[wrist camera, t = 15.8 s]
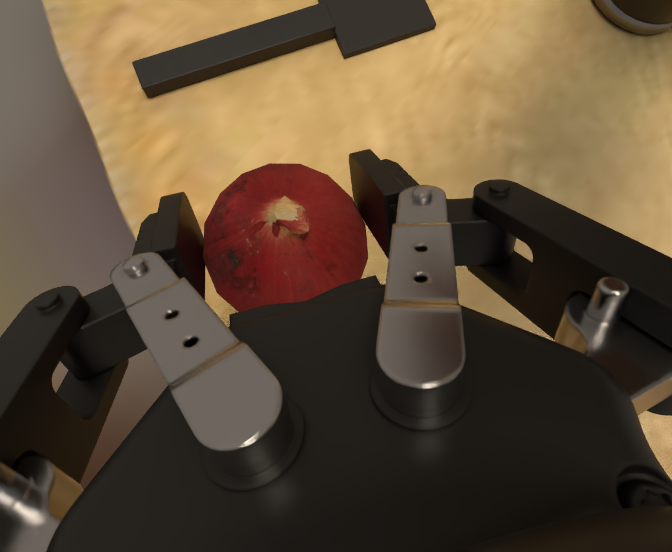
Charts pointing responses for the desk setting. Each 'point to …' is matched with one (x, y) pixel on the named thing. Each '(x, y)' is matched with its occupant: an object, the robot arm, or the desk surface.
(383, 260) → the desk surface
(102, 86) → the desk surface
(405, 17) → the spatula
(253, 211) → the onion
